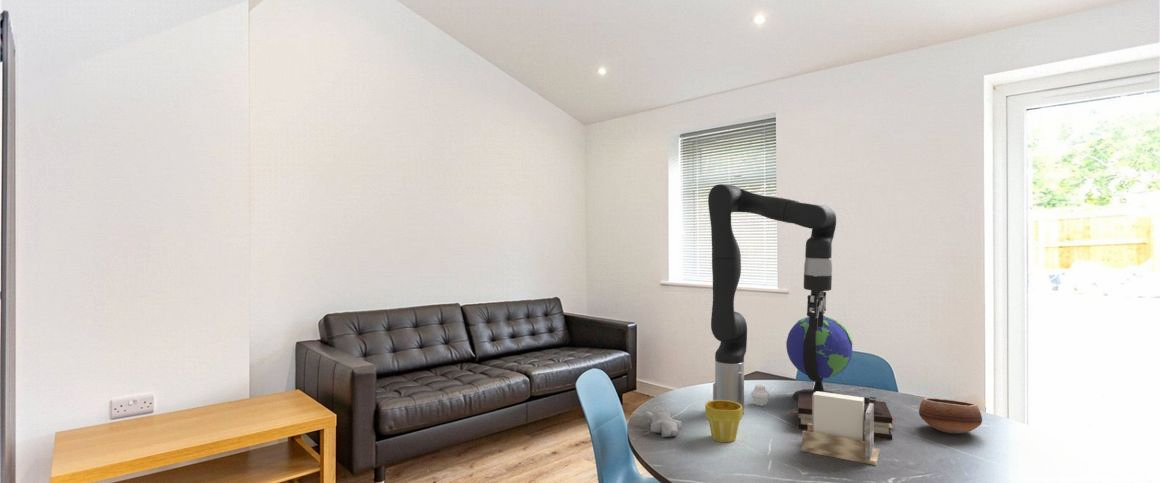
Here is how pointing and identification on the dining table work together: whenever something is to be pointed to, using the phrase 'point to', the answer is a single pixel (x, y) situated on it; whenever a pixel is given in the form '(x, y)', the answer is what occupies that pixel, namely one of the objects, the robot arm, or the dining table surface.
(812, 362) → the globe
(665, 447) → the dining table surface
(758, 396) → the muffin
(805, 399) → the decorative book
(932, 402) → the bowl
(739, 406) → the plant pot
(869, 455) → the book rack
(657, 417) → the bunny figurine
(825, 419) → the slim book
